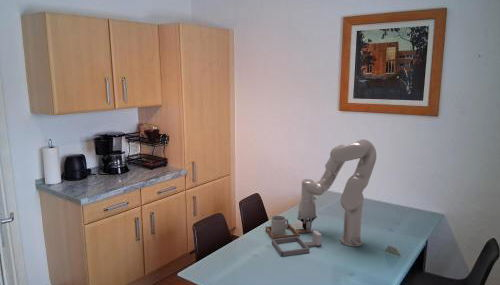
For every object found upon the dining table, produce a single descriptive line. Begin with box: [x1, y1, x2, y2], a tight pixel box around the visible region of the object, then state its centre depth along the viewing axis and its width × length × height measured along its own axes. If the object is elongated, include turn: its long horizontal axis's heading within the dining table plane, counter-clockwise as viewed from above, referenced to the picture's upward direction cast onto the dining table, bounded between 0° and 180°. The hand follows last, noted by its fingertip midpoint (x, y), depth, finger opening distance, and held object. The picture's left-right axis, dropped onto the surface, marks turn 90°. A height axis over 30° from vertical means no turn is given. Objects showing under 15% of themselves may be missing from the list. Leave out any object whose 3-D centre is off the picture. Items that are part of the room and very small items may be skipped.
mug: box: [270, 215, 289, 237], centre depth 224 cm, size 12×8×11 cm
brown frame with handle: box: [265, 218, 312, 240], centre depth 225 cm, size 16×26×7 cm, turn 105°
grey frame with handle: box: [271, 230, 322, 257], centre depth 208 cm, size 16×26×7 cm, turn 105°
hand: (306, 228), depth 229 cm, fingers closed on brown frame with handle, 2 cm apart
